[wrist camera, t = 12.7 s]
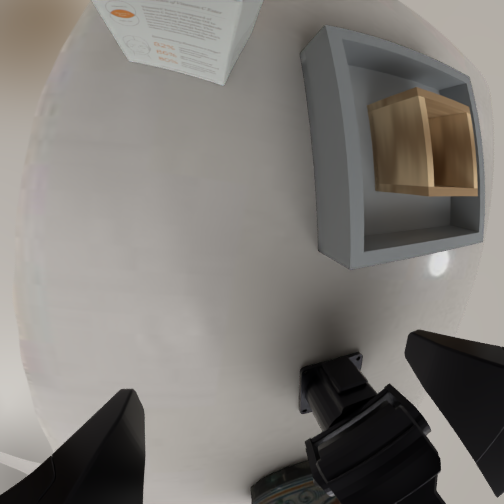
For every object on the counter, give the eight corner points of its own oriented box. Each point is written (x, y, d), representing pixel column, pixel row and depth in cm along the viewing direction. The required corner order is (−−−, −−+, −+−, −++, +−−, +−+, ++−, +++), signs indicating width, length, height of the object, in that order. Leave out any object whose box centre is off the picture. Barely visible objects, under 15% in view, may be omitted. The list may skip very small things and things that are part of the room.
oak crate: (427, 190, 20) (477, 196, 15) (375, 191, 19) (428, 196, 14) (420, 115, 19) (469, 106, 13) (366, 105, 18) (416, 86, 12)
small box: (252, 35, 16) (291, -54, 6) (223, 89, 17) (246, 2, 7) (159, 11, 14) (144, -76, 4) (126, 62, 15) (78, -18, 5)
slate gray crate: (448, 232, 23) (482, 242, 18) (318, 251, 21) (350, 269, 16) (436, 85, 19) (469, 76, 14) (299, 53, 17) (325, 24, 12)
